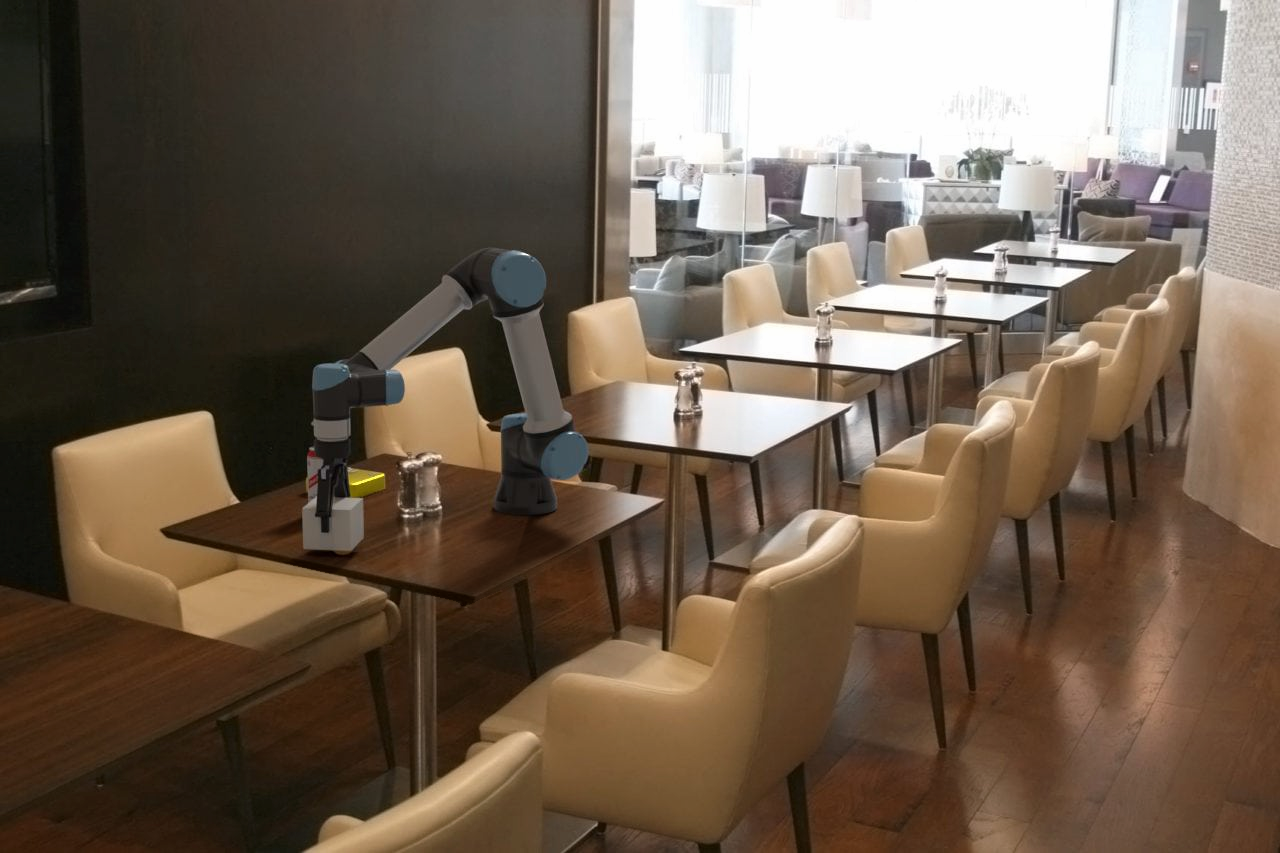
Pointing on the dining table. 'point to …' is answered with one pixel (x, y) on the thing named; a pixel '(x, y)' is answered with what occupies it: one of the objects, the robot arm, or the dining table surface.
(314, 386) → the robot arm
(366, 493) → the element tile
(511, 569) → the dining table surface
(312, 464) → the beer can
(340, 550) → the ball
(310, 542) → the white cube
